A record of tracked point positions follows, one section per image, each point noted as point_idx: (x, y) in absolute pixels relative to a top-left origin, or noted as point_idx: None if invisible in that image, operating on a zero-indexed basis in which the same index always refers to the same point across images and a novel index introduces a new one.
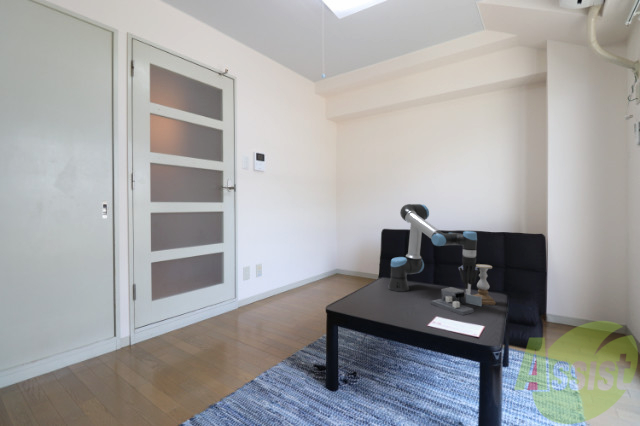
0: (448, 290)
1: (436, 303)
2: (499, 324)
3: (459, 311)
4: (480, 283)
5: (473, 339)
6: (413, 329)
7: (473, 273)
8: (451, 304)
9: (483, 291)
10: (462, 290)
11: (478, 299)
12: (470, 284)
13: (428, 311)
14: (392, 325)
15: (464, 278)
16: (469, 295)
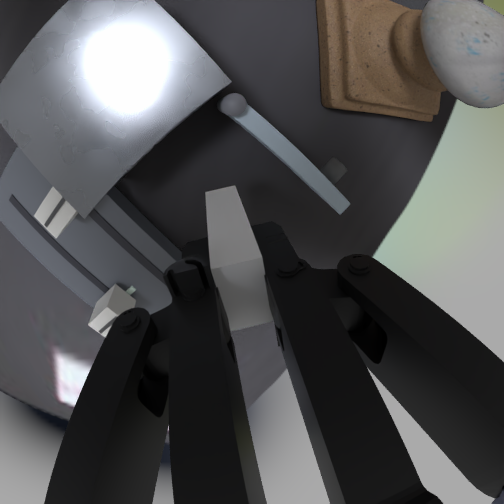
0: (33, 137)
1: (16, 233)
2: (276, 376)
3: None
4: (475, 64)
5: (167, 437)
6: (45, 411)
7: (481, 409)
8: (90, 245)
9: (430, 82)
10: (201, 73)
11: (316, 192)
12: (268, 319)
13: (18, 312)
14: (7, 394)
15: (159, 433)
16: (260, 139)
